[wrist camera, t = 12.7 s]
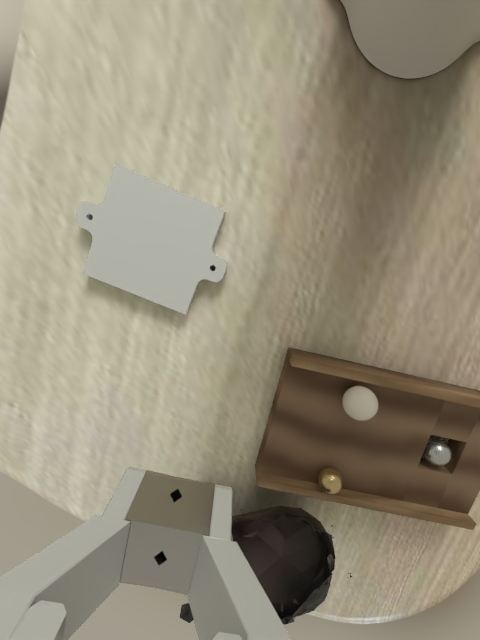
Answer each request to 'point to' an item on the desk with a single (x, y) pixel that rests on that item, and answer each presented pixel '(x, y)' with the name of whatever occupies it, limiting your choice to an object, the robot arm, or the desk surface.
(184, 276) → the mounting plate
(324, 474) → the brass ball
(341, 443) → the board
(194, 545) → the robot arm
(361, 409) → the cream ball
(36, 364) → the desk surface
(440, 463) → the steel ball
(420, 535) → the desk surface
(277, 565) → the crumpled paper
